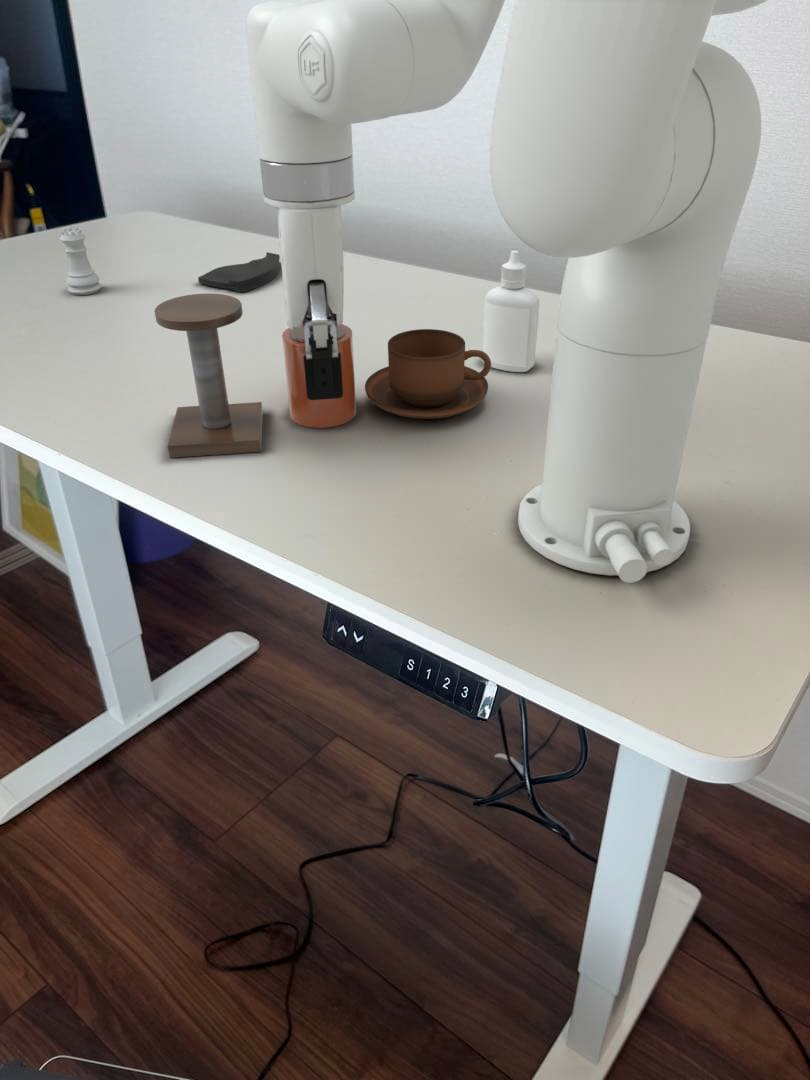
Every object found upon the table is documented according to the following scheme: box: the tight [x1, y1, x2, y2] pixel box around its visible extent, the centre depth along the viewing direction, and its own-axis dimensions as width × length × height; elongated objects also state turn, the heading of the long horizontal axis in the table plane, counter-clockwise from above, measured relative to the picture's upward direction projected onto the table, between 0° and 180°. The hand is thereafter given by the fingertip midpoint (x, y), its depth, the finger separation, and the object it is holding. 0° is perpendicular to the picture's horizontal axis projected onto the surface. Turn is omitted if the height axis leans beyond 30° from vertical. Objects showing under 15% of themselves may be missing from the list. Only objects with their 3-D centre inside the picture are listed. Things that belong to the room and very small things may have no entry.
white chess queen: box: [59, 227, 103, 296], centre depth 109 cm, size 4×4×8 cm
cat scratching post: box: [154, 293, 264, 459], centre depth 72 cm, size 8×8×12 cm
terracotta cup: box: [281, 323, 357, 429], centre depth 77 cm, size 6×6×8 cm
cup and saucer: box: [364, 328, 492, 420], centre depth 79 cm, size 12×12×6 cm
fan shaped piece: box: [197, 252, 281, 293], centre depth 115 cm, size 8×14×2 cm, turn 147°
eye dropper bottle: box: [481, 250, 540, 373], centre depth 85 cm, size 4×6×12 cm
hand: (323, 376), depth 77 cm, fingers open, 9 cm apart
